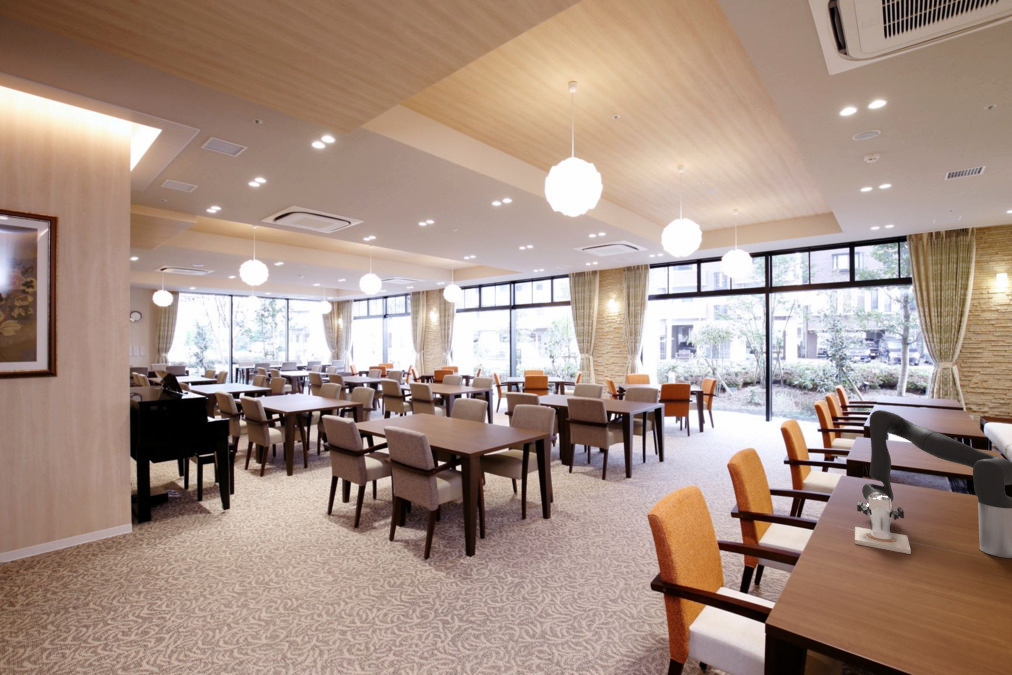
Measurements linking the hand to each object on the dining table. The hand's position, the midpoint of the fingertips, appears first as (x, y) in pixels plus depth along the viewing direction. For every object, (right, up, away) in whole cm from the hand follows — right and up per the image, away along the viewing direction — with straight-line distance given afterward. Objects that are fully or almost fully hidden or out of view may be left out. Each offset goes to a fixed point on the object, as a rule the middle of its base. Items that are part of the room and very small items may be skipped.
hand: (880, 514), depth 178 cm
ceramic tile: (+1, -11, +1) cm, 11 cm away
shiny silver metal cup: (+1, -9, +1) cm, 9 cm away
